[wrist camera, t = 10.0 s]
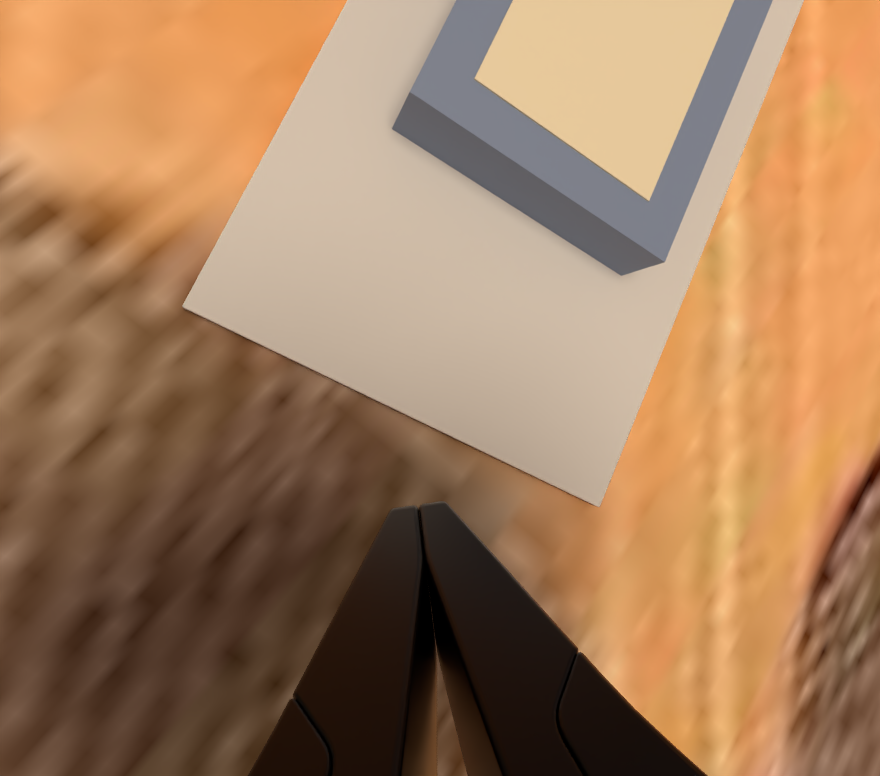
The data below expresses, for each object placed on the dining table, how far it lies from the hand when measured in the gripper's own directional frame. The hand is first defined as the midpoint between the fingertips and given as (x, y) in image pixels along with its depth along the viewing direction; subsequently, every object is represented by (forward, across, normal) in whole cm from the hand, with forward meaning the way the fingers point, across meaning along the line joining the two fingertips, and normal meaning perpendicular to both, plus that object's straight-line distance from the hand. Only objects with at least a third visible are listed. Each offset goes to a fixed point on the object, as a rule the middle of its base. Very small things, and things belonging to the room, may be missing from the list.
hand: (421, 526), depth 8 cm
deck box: (+12, -5, -3) cm, 14 cm away
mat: (+16, -6, -5) cm, 17 cm away
